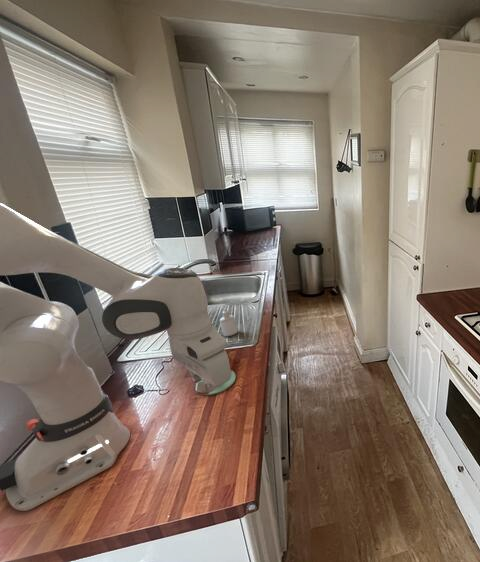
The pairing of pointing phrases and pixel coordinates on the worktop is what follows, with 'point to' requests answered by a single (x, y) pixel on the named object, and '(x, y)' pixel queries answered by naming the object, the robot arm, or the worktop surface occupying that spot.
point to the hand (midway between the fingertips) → (204, 385)
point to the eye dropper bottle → (228, 324)
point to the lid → (223, 386)
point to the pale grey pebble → (202, 388)
